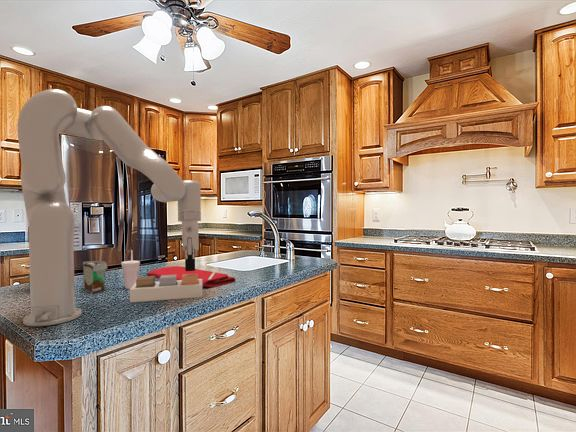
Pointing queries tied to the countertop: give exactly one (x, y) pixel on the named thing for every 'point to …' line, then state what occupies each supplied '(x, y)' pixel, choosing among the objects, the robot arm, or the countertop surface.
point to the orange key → (189, 279)
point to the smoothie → (130, 271)
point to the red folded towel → (207, 276)
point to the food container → (94, 276)
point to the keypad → (166, 292)
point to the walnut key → (145, 281)
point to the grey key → (168, 280)
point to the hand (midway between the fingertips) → (190, 270)
